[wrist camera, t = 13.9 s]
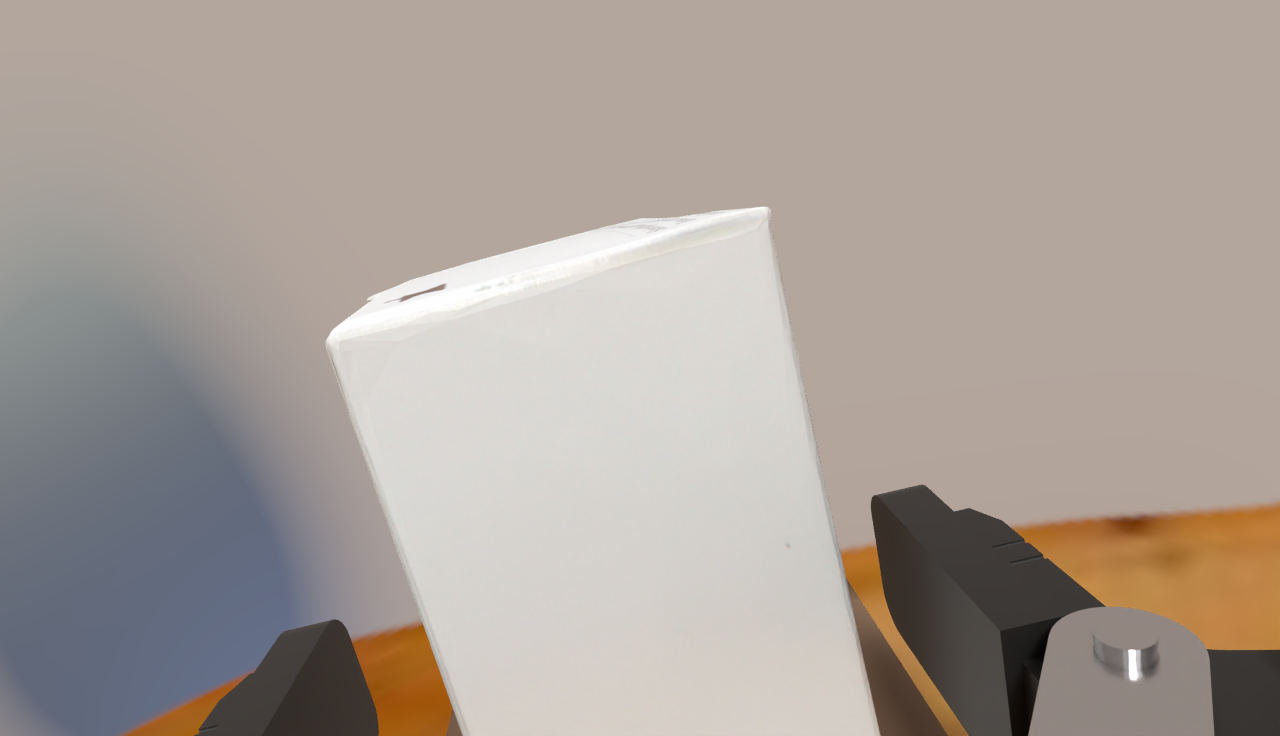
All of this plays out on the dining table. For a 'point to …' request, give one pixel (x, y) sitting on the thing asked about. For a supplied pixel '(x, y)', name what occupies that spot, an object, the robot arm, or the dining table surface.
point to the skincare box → (611, 486)
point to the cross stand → (873, 684)
